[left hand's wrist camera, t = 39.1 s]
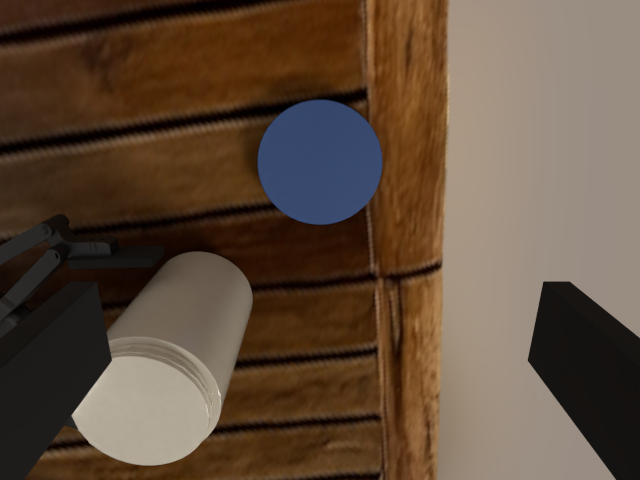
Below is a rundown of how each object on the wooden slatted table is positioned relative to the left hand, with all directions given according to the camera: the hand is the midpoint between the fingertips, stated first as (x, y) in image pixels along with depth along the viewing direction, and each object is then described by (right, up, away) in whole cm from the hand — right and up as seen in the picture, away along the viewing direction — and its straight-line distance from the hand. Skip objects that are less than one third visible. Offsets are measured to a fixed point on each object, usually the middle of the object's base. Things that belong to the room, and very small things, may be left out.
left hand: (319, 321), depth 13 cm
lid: (0, +9, +24) cm, 26 cm away
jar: (-12, -3, +30) cm, 32 cm away
